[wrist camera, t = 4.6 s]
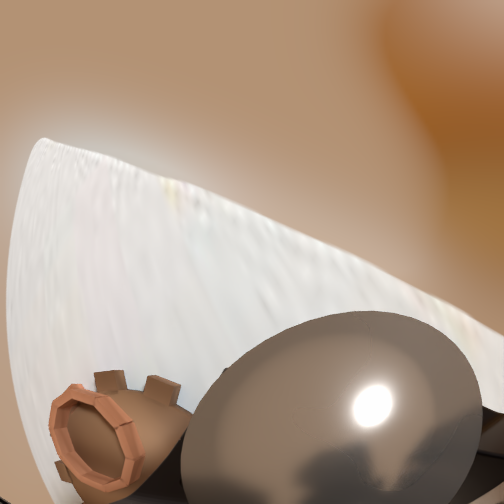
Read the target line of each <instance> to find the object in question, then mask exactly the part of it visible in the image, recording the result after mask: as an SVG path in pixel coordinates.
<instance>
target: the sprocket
mask: <svg viewBox="0 0 504 504" xmlns="http://www.w3.org/2000/svg"><path fill="white" fill-rule="evenodd" d="M94 377H95V383H96V387H97V392H93V391H90V390H86V389H84V387H83V386H82V384H71V385H70V386H69V387H68V388H67V390H66V391H65V392H64V393H63V394H62V395H60V396H59V397H58V398H56V399H55V400H53V402H52V406H51V412H50V418H49V425H48V426H49V430H50V436H51V437H52V440H53V443H54V446H55V448H56V451H57V454H58V455H59V458H60V459H61V460H60V461H56V462H55V465H56V468H57V470H58V473H59V475H60V478H61V480H62V481H65V482H69V483H72V484H73V486H74V488H75V489H76V491H77V493H78V494H79V496H80V497H81V499H82V500H83V501H84V502H83V503H82V504H109V503H112V502H115V501H118V500H121V499H123V498H125V497H127V496H129V495H130V494H132V493H133V492H134V491H135V490H136V489H138V488H139V487H140V485H141V484H142V483H143V482H144V481H145V480H146V479H147V478H148V477H149V476H150V475H151V474H152V473H153V472H154V471H155V470H156V469H157V467H158V466H159V465H160V464H161V463H162V462H163V460H164V459H165V458H166V457H167V456H168V454H169V453H170V451H171V450H172V449H173V447H174V446H175V444H176V443H177V441H178V440H179V439H180V437H181V436H182V434H183V433H184V431H185V430H186V428H187V427H188V425H189V422H190V420H191V418H192V416H193V414H191V413H190V412H189V411H187V410H185V409H184V408H182V407H180V406H179V405H177V404H176V403H177V399H178V395H179V391H180V388H181V385H180V384H177V383H174V382H172V381H169V380H167V379H164V378H162V377H159V376H157V375H152V376H148V377H147V380H146V384H145V388H144V392H142V391H137V390H128V389H127V385H126V381H125V376H124V371H123V370H111V371H104V372H95V373H94Z"/></svg>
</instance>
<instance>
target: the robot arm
mask: <svg viewBox="0 0 504 504" xmlns="http://www.w3.org/2000/svg"><path fill="white" fill-rule="evenodd" d="M227 369H228V368H225V369H224V371H223V372H222V374H223V373H224V372H225V371H226V370H227ZM222 374H221V375H222ZM221 375H220V376H221ZM482 412H483V417H482V431H481V436H480V441H479V446H478V449H477V452H476V455H475V458H474V461H473V464H472V466H471V468H470V470H469V472H468V474H467V476H466V478H465V480H464V482H463V483H462V485H461V487H460V488H459V490H458V491H457V493H456V494H455V496H454V497H453V498H452V500H451V501H450V502H449V503H448V504H504V414H503V413H498V412H495V411H493V410H491V409H488V408H486V407H484V406H482ZM187 428H188V427H187ZM187 428H186V430H185V431H184V433H183V434H182V436H181V437H180V439H179V440H178V441H177V443H176V444H175V446H174V447H173V449H172V450H171V451H170V453H169V454H168V456H167V457H166V458H165V459H164V460H163V462H162V463H161V464H160V465H159V466H158V467H157V469H156V470H155V471H154V472H153V473H152V474H151V475H150V476H149V477H148V478H147V479H146V480H145V481H144V482H143V483H142V484H141V485H140V487H139V488H138V489H136V490H135V491H134V492H133V493H132V494H130V495H129V496H127V497H125V498H123V499H121V500H118V501H115V502H112V503H109V504H189V503H188V500H187V497H186V494H185V491H184V488H183V483H182V476H181V452H182V447H183V441H184V437H185V434H186V431H187ZM0 504H11V503H9V502H8V501H6V500H5V499H3V498H2V497H0Z"/></svg>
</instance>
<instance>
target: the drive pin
mask: <svg viewBox="0 0 504 504" xmlns="http://www.w3.org/2000/svg"><path fill="white" fill-rule="evenodd" d="M482 417H483V412H482V399H481V394H480V389H479V385H478V382H477V379H476V376H475V374H474V371H473V369H472V367H471V365H470V364H469V362H468V360H467V359H466V357H465V355H464V354H463V353H462V352H461V351H460V349H459V348H458V347H457V346H456V345H455V343H453V342H452V341H451V340H450V339H449V338H448V337H447V336H445V335H444V334H443V333H442V332H440V331H438V330H437V329H435V328H433V327H432V326H430V325H428V324H426V323H424V322H421V321H419V320H417V319H414V318H412V317H407V316H403V315H399V314H395V313H388V312H379V311H354V312H346V313H340V314H333V315H328V316H324V317H321V318H317V319H313V320H309V321H307V322H304V323H301V324H299V325H296V326H294V327H291V328H289V329H286V330H284V331H282V332H280V333H278V334H277V335H275V336H273V337H271V338H269V339H267V340H265V341H263V342H262V343H260V344H259V345H257V346H256V347H254V348H253V349H251V350H250V351H248V352H247V353H245V354H244V355H243V356H242V357H241V358H239V359H238V360H237V361H236V362H235V363H234V364H232V365H231V366H230V367H229V368H228V369H227V370H226V371H225V372H224V373H223V374H222V375H221V376H220V377H219V378H218V379H217V380H216V381H215V382H214V383H213V385H212V386H211V387H210V389H209V390H208V391H207V393H206V394H205V396H204V397H203V398H202V400H201V401H200V403H199V404H198V406H197V408H196V410H195V412H194V414H193V416H192V418H191V420H190V422H189V425H188V428H187V431H186V434H185V437H184V441H183V447H182V452H181V476H182V483H183V488H184V491H185V494H186V497H187V500H188V503H189V504H448V503H449V502H450V501H451V500H452V498H453V497H454V496H455V494H456V493H457V491H458V490H459V488H460V487H461V485H462V483H463V482H464V480H465V478H466V476H467V474H468V472H469V470H470V468H471V466H472V464H473V461H474V458H475V455H476V452H477V449H478V446H479V441H480V436H481V431H482Z"/></svg>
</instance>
